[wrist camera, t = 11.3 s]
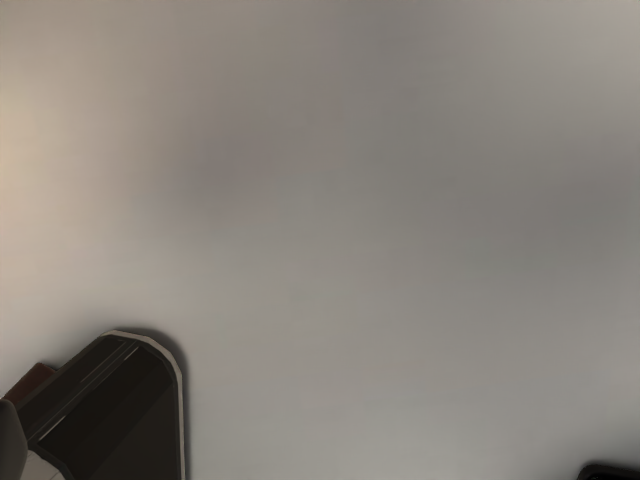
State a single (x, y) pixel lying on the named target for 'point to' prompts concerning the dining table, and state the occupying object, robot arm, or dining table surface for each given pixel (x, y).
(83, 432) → the camera
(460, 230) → the dining table surface
